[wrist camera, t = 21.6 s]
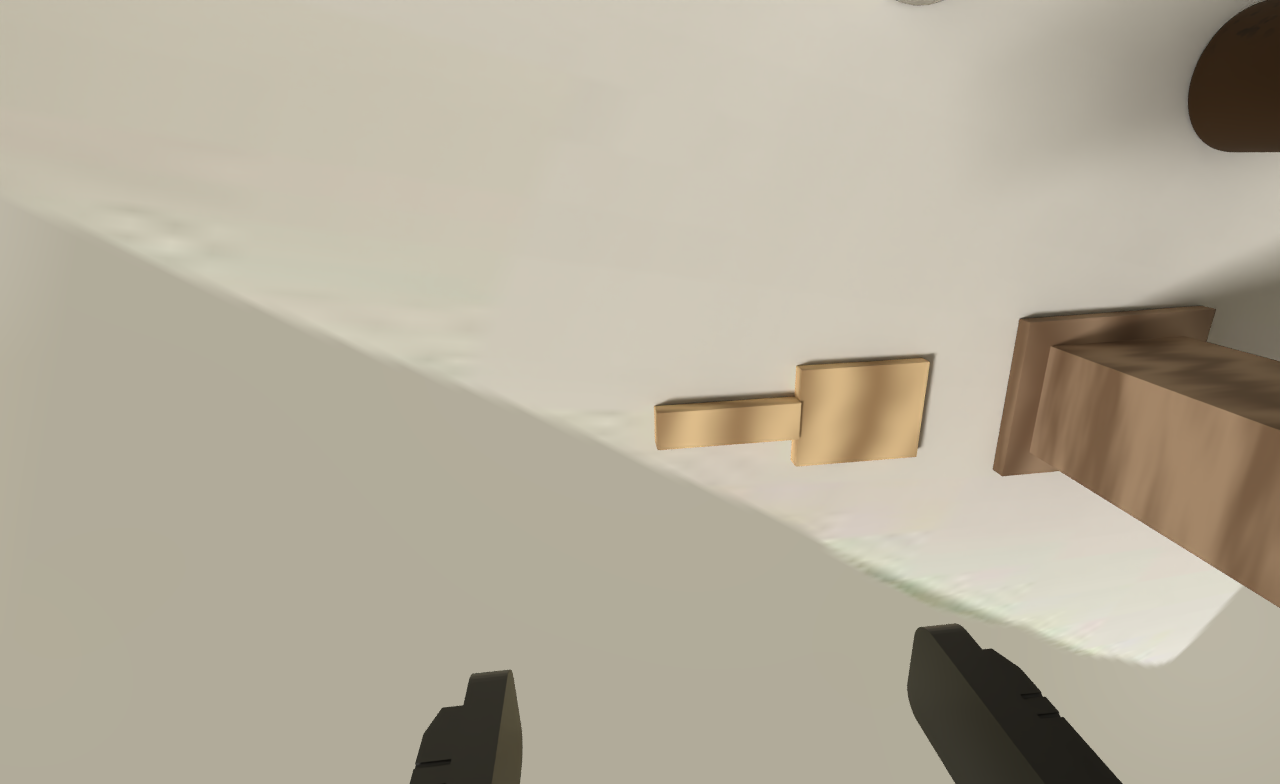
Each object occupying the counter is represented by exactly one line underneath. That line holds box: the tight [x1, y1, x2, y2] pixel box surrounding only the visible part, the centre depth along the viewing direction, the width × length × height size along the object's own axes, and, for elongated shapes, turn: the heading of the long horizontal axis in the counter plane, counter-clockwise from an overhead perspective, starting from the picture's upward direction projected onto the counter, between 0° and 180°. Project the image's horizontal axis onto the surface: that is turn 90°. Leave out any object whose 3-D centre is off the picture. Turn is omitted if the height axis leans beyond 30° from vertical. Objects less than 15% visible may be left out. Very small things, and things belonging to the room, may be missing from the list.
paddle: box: [654, 358, 930, 466], centre depth 46 cm, size 21×8×2 cm, turn 92°
